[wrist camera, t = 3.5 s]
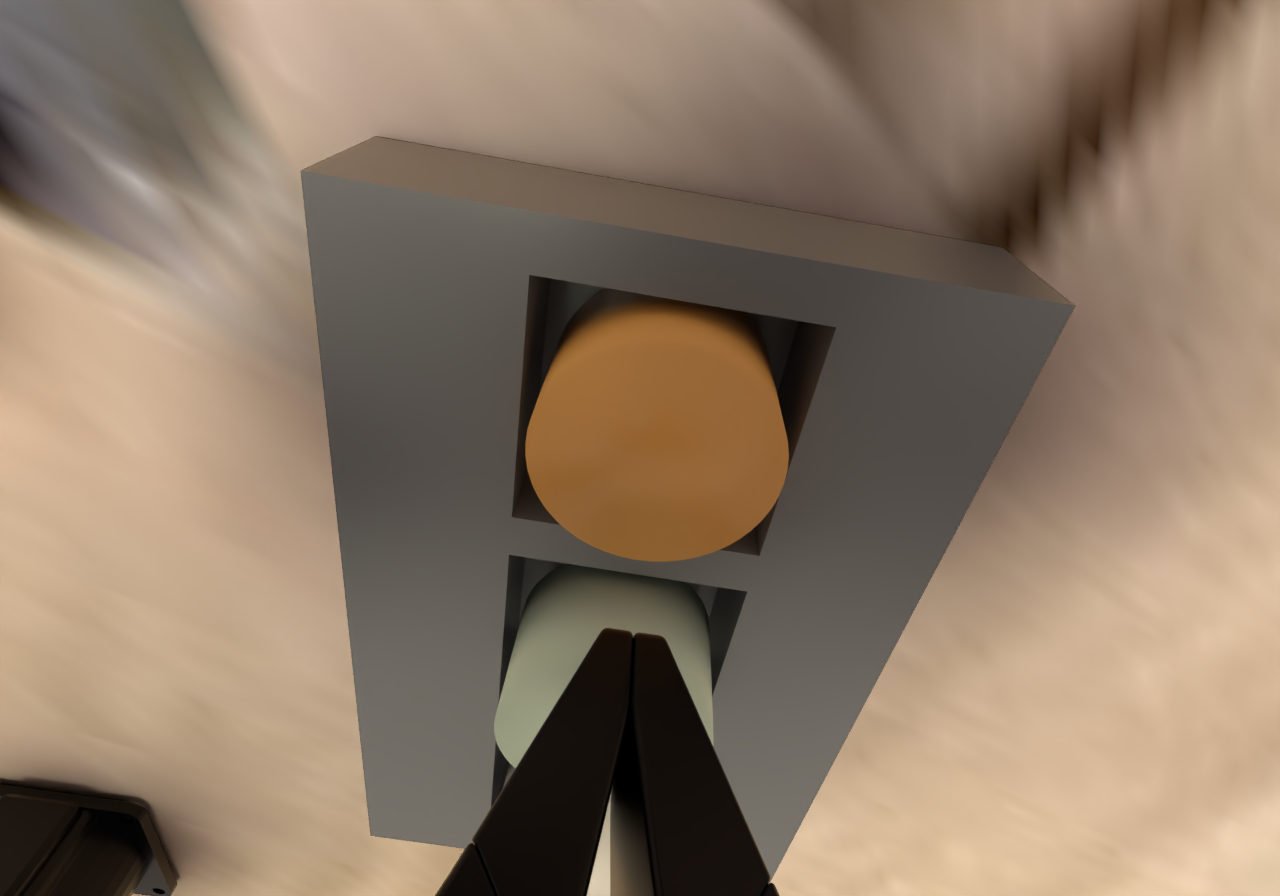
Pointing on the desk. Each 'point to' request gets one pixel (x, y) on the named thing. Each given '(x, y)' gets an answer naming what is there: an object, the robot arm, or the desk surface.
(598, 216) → the grey compartment tray
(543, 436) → the button orange
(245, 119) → the desk surface
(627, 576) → the button sage
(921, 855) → the desk surface
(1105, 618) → the desk surface
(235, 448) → the desk surface
